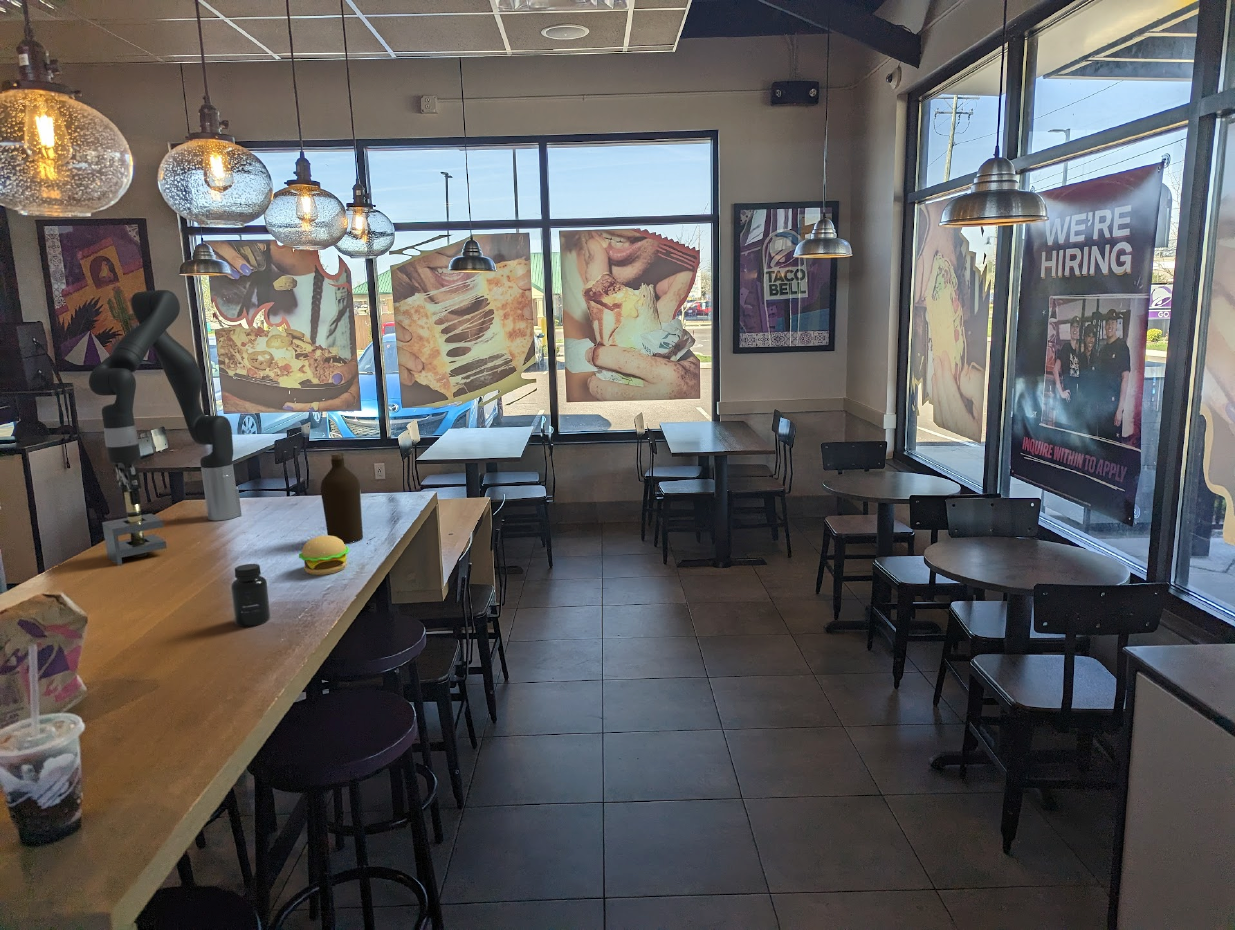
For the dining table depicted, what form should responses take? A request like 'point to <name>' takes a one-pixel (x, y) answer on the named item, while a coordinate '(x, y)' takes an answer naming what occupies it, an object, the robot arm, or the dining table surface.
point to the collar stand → (124, 547)
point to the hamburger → (324, 555)
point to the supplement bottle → (250, 596)
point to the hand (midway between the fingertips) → (131, 502)
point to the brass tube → (133, 517)
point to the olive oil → (342, 502)
